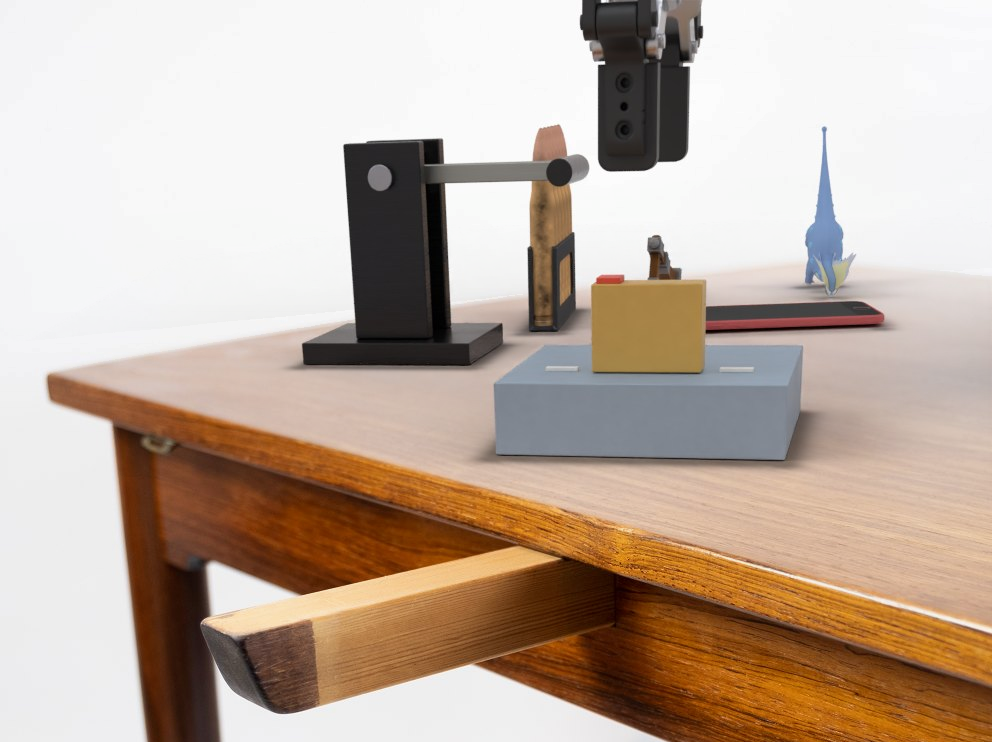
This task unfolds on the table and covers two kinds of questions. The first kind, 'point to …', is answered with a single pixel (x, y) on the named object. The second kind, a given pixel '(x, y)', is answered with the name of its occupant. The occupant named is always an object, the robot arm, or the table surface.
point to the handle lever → (510, 171)
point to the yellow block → (648, 325)
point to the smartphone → (791, 315)
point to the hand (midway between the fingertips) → (645, 166)
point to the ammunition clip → (550, 242)
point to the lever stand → (399, 265)
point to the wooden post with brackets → (660, 261)
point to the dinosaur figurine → (826, 238)
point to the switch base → (651, 406)
